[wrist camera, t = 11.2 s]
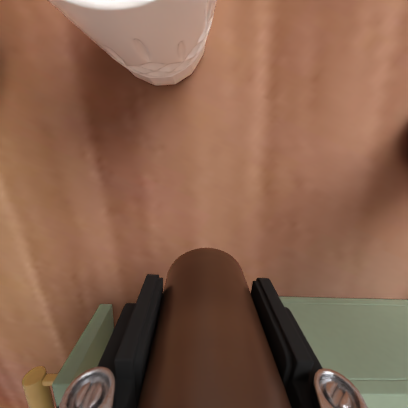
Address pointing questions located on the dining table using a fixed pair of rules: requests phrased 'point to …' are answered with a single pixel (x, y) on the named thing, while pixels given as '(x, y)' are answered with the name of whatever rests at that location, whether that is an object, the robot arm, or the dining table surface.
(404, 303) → the cabinet
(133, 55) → the white cup
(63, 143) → the dining table surface
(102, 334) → the drawer
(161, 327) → the pepper mill
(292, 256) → the dining table surface
